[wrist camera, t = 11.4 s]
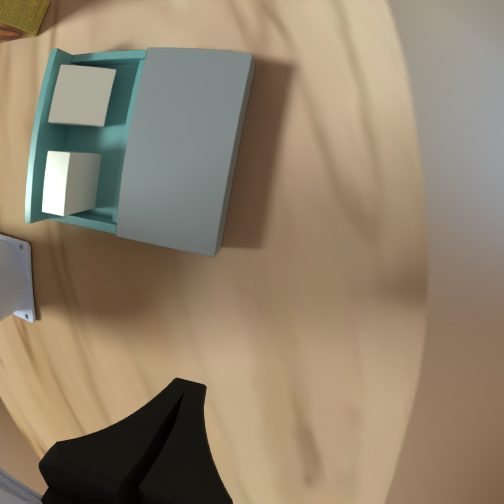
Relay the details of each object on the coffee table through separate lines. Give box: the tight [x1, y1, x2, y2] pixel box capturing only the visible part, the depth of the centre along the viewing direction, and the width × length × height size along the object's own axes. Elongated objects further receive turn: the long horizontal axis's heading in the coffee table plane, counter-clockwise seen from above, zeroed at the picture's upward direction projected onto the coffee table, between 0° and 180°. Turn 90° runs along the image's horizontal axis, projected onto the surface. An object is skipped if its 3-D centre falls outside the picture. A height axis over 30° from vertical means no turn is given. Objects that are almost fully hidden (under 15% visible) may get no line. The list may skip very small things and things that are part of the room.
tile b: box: [48, 65, 116, 128], centre depth 17 cm, size 4×4×2 cm
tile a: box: [42, 151, 102, 216], centre depth 19 cm, size 4×4×2 cm
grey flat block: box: [116, 48, 256, 257], centre depth 19 cm, size 7×12×2 cm, turn 169°
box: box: [25, 48, 147, 234], centre depth 18 cm, size 7×12×4 cm, turn 169°
